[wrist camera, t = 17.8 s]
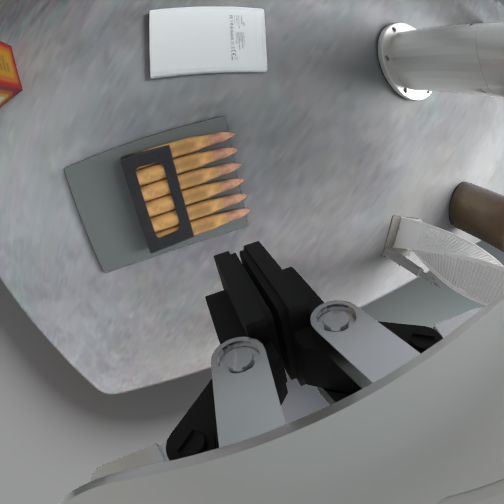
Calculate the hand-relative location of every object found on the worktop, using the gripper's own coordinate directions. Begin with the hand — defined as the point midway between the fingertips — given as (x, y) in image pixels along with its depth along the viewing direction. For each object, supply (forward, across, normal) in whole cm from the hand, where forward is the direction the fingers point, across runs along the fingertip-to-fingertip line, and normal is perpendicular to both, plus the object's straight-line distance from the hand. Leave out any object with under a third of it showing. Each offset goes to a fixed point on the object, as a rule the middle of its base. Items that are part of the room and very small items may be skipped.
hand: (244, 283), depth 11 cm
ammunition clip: (+21, +6, +1) cm, 22 cm away
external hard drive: (+24, -6, -14) cm, 29 cm away
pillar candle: (+24, -49, +17) cm, 57 cm away
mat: (+23, +4, +1) cm, 23 cm away
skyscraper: (+24, -31, +18) cm, 43 cm away
